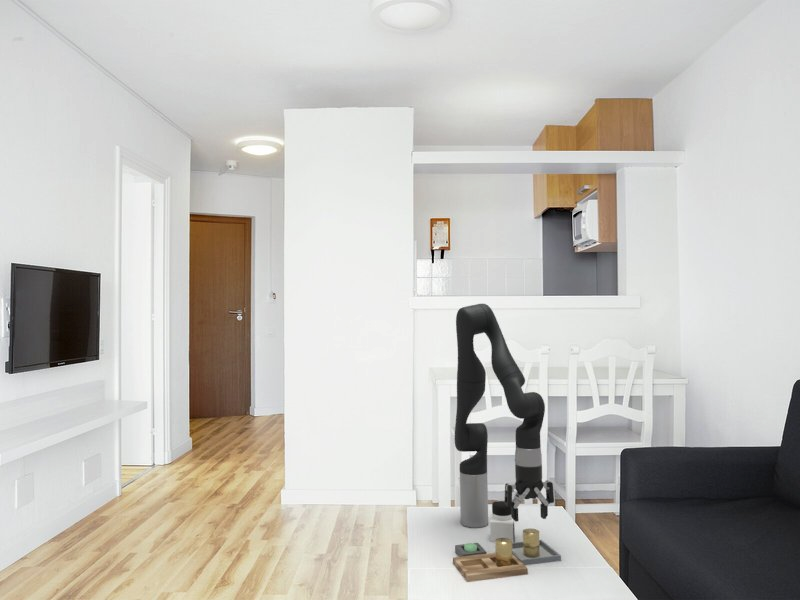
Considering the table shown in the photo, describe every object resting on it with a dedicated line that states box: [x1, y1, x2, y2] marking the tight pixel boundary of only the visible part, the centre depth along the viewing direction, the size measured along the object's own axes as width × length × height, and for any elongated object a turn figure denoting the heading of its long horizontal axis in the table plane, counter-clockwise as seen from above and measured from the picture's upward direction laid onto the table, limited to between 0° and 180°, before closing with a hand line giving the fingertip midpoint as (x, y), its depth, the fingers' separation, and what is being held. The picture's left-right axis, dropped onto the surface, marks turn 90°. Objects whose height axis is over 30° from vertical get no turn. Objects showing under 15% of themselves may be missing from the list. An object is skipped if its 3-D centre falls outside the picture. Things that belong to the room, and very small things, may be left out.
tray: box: [512, 539, 562, 566], centre depth 175 cm, size 12×12×2 cm
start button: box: [464, 542, 477, 552], centre depth 175 cm, size 4×4×3 cm
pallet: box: [452, 552, 529, 583], centre depth 166 cm, size 12×17×2 cm
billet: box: [522, 528, 541, 559], centre depth 175 cm, size 5×5×7 cm
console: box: [454, 542, 488, 557], centre depth 175 cm, size 7×7×3 cm
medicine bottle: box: [489, 499, 516, 543], centre depth 188 cm, size 7×7×12 cm
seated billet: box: [494, 538, 513, 567], centre depth 167 cm, size 5×5×7 cm
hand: (529, 519), depth 175 cm, fingers open, 8 cm apart
